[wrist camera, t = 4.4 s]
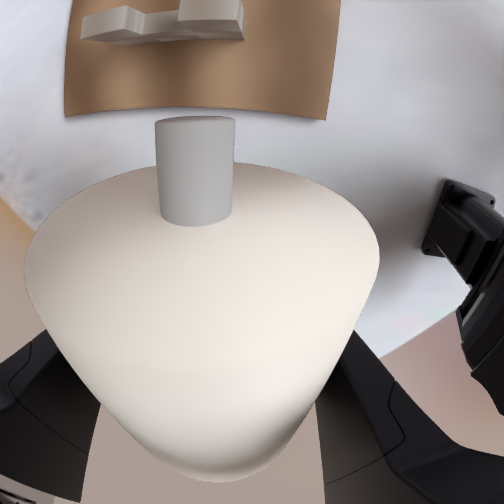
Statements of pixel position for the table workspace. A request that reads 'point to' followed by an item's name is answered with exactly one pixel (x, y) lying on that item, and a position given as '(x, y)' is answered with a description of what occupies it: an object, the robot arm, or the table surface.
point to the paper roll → (203, 297)
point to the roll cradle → (201, 55)
